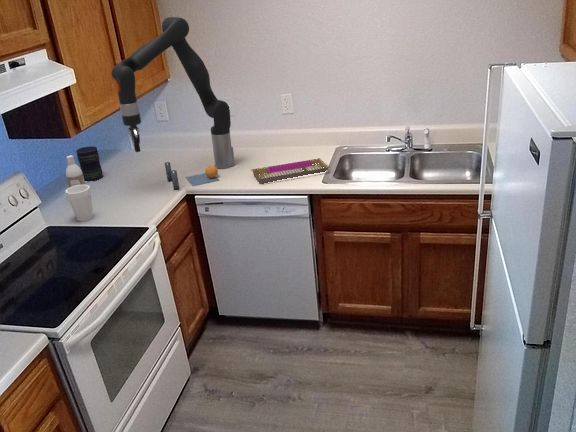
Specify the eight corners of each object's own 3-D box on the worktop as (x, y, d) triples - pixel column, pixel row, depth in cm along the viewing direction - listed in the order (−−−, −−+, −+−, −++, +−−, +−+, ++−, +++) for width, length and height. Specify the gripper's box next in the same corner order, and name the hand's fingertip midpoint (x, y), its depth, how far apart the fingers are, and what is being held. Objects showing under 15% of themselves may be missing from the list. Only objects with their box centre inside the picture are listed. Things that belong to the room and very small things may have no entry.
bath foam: (71, 202, 234) (60, 159, 226) (73, 196, 240) (62, 154, 232) (87, 199, 235) (76, 157, 227) (89, 194, 242) (78, 152, 233)
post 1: (172, 179, 252) (169, 161, 249) (173, 180, 250) (170, 163, 246) (167, 180, 252) (163, 162, 248) (168, 182, 249) (165, 164, 245)
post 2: (178, 188, 241) (175, 169, 238) (180, 189, 239) (177, 171, 235) (173, 189, 241) (170, 170, 237) (174, 191, 238) (171, 172, 235)
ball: (216, 164, 253) (204, 163, 250) (220, 167, 248) (207, 166, 245) (215, 176, 255) (203, 175, 252) (218, 180, 250) (206, 179, 247)
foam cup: (76, 214, 222) (69, 185, 216) (98, 212, 222) (92, 183, 217) (70, 223, 213) (62, 194, 208) (93, 221, 214) (86, 192, 208)
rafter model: (320, 164, 259) (319, 153, 257) (330, 174, 247) (330, 162, 244) (251, 176, 251) (250, 164, 248) (258, 186, 238) (257, 174, 236)
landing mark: (211, 172, 258) (211, 171, 258) (219, 180, 247) (219, 180, 247) (185, 177, 253) (185, 177, 253) (192, 186, 243) (192, 185, 243)
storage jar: (107, 177, 261) (100, 148, 254) (89, 183, 254) (82, 154, 248) (97, 173, 267) (90, 145, 261) (79, 179, 261) (72, 150, 254)
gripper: (141, 114, 221) (149, 154, 229) (136, 108, 232) (143, 146, 240) (123, 117, 219) (131, 157, 226) (119, 111, 230) (127, 149, 237)
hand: (137, 151), depth 233 cm, fingers closed
